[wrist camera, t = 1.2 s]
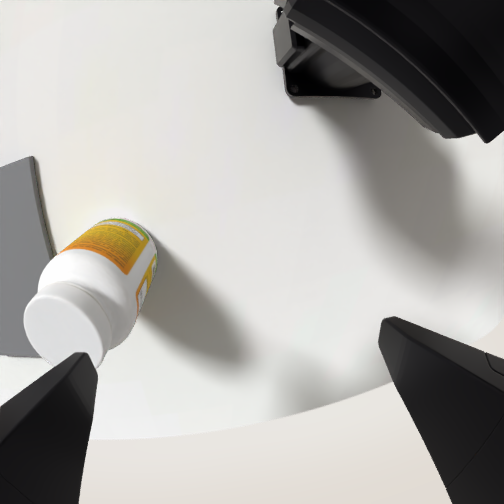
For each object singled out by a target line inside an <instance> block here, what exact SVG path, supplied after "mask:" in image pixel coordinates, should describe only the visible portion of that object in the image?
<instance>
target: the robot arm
mask: <svg viewBox="0 0 504 504" xmlns="http://www.w3.org/2000/svg"><path fill="white" fill-rule="evenodd" d="M274 4H276V5H278V6H280V7H278V9H277V11H276V19H277V24H276V25H275V27H274V29H273V37H274V45H275V53H276V61H277V65H278V66H279V67H283V75H284V84H285V91H286V93H287V95H289V96H290V97H342V98H363V99H377V98H379V97H380V96H381V90H382V91H383V92H384V93H386V94H387V95H388V96H389V97H390V98H392V99H393V100H394V101H395V102H396V103H398V104H399V105H400V106H401V107H402V108H403V109H405V110H406V111H407V112H408V113H409V114H410V115H411V116H412V117H413V118H415V119H416V120H417V121H418V122H419V123H420V124H421V125H422V126H423V127H425V128H427V129H429V130H431V131H433V132H435V133H439V134H440V135H441V136H442V137H443V138H445V139H448V138H461V137H465V136H469V135H473V134H476V133H477V134H478V135H479V137H480V138H481V139H482V140H483V142H484V143H489V142H491V141H492V140H493V139H494V138H496V137H497V136H498V135H499V134H500V133H502V132H503V131H504V0H274ZM281 11H283V13H281ZM291 86H295V87H296V88H297V92H292V91H291ZM372 89H374V90H375V95H374V94H373V93H372ZM378 344H379V348H380V350H381V353H382V355H383V358H384V360H385V363H386V365H387V367H388V370H389V372H390V375H391V377H392V380H393V382H394V385H395V387H396V389H397V391H398V392H399V394H400V396H401V398H402V400H403V401H404V404H405V405H406V407H407V409H408V411H409V413H410V415H411V417H412V419H413V421H414V423H415V425H416V427H417V429H418V431H419V433H420V435H421V437H422V439H423V441H424V443H425V445H426V447H427V449H428V451H429V453H430V455H431V457H432V460H433V462H434V464H435V466H436V468H437V470H438V472H439V475H440V477H441V479H442V481H443V483H444V485H445V487H446V490H447V492H448V495H449V497H450V499H451V502H452V504H504V359H502V358H499V357H497V356H494V355H492V354H489V353H487V352H486V353H485V352H484V351H481V350H479V349H476V348H474V347H471V346H469V345H466V344H464V343H461V342H459V341H456V340H453V339H451V338H448V337H446V336H443V335H441V334H438V333H436V332H433V331H431V330H428V329H426V328H423V327H421V326H418V325H416V324H413V323H411V322H408V321H406V320H403V319H401V318H398V317H395V316H393V317H388V318H384V319H383V320H382V323H381V328H380V334H379V339H378ZM97 382H98V375H97V371H96V369H95V367H94V365H93V363H92V360H91V358H90V356H89V354H88V353H86V352H75V353H73V354H72V355H70V356H69V357H68V358H66V359H65V360H63V361H62V362H61V363H59V364H58V365H57V366H55V367H54V368H52V369H51V370H50V371H48V372H47V373H45V374H44V375H43V376H41V377H40V378H39V379H37V380H36V381H34V382H33V383H32V384H30V385H29V386H28V387H26V388H25V389H23V390H22V391H21V392H19V393H18V394H17V395H15V396H14V397H13V398H11V399H10V400H8V401H7V402H6V403H4V404H3V405H2V406H1V407H0V504H79V496H80V487H81V481H82V475H83V468H84V462H85V457H86V450H87V446H88V441H89V436H90V431H91V426H92V421H93V414H94V405H95V397H96V389H97Z"/></svg>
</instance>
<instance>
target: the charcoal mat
mask: <svg viewBox="0 0 504 504" xmlns="http://www.w3.org/2000/svg"><path fill="white" fill-rule="evenodd" d="M53 258H54V257H53V253H52V250H51V246H50V242H49V238H48V234H47V230H46V226H45V222H44V217H43V213H42V208H41V203H40V198H39V192H38V187H37V181H36V174H35V168H34V160H33V156H30V157H26V158H24V159H21V160H18V161H16V162H13V163H10V164H8V165H5V166H3V167H0V355H6V356H23V357H41V356H40V355H39V354H38V353H37V351H36V350H35V349H34V348H33V346H32V345H31V343H30V341H29V339H28V337H27V335H26V331H25V328H24V312H25V309H26V307H27V305H28V303H29V302H30V301H31V300H32V298H33V297H34V296H35V295H36V294H37V293H38V284H39V280H40V276H41V274H42V272H43V270H44V269H45V267H46V266H47V264H48V263H49V262H50V261H51V260H52V259H53Z"/></svg>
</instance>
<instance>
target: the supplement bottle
mask: <svg viewBox="0 0 504 504" xmlns="http://www.w3.org/2000/svg"><path fill="white" fill-rule="evenodd" d="M157 262H158V257H157V250H156V247H155V244H154V242H153V240H152V238H151V237H150V235H149V234H148V232H147V231H146V230H145V229H144V228H142V227H141V226H140V225H139V224H137V223H135V222H134V221H131V220H129V219H126V218H118V217H117V218H109V219H105V220H103V221H101V222H99V223H97V224H95V225H94V226H93V227H91V228H90V229H89V230H88V231H86V232H85V233H84V234H82V235H81V236H80V237H79V238H77V239H76V240H75V241H74V242H72V243H71V244H70V245H69V246H67V247H66V248H65V249H64V250H62V251H61V252H60V253H59V254H57V255H56V256H55V257H54V258H53V259H52V260H51V261H50V262H49V263H48V264H47V266H46V267H45V269H44V270H43V272H42V274H41V276H40V280H39V284H38V293H37V294H36V295H35V296H34V297H33V298H32V300H31V301H30V302H29V303H28V305H27V307H26V309H25V312H24V328H25V331H26V335H27V337H28V339H29V341H30V343H31V345H32V346H33V348H34V349H35V350H36V351H37V353H38V354H39V355H40V356H41V357H42V358H43V359H44V360H45V361H47V362H48V363H49V364H51V365H52V366H54V367H55V366H57V365H58V364H59V363H61V362H62V361H63V360H65V359H66V358H68V357H69V356H70V355H72V354H73V353H75V352H86V353H88V354H89V356H90V358H91V360H92V363H93V365H94V367H95V369H97V368H98V367H99V366H100V365H101V363H102V361H103V359H104V357H105V355H106V353H107V351H108V350H110V349H113V348H115V347H117V346H118V345H119V344H121V343H122V342H123V341H124V340H125V339H126V338H127V337H128V335H129V334H130V332H131V330H132V328H133V327H134V324H135V322H136V319H137V317H138V314H139V311H140V309H141V306H142V304H143V302H144V300H145V297H146V294H147V292H148V289H149V287H150V285H151V282H152V280H153V278H154V275H155V272H156V268H157Z"/></svg>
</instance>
